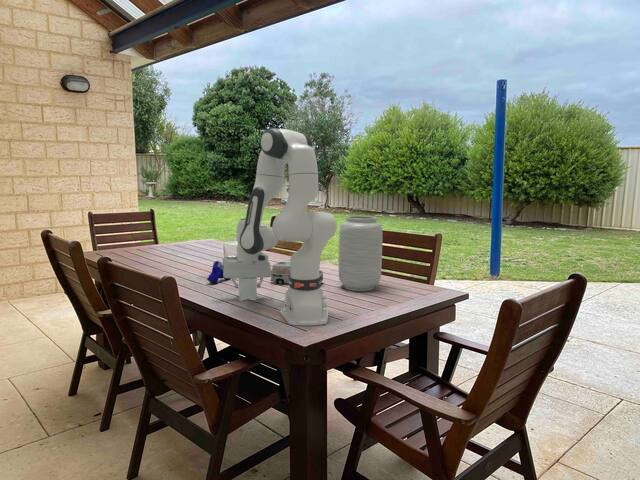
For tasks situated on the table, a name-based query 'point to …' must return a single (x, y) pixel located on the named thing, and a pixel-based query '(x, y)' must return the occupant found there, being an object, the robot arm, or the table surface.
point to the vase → (360, 253)
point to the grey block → (247, 288)
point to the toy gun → (216, 272)
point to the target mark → (248, 298)
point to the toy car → (284, 273)
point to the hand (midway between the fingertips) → (247, 287)
